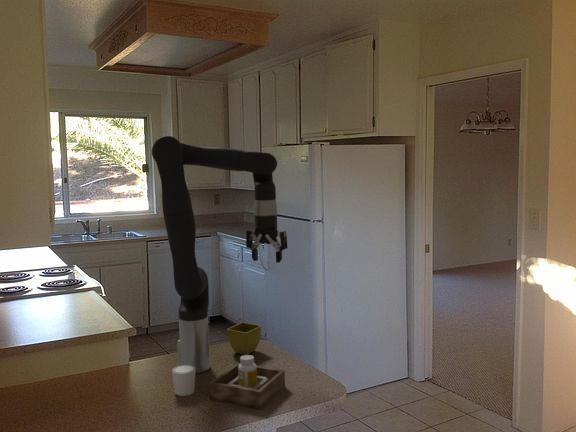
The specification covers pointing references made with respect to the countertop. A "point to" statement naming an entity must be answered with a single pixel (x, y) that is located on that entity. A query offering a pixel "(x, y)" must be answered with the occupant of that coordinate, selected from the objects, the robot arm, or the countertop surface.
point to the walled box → (256, 397)
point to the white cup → (184, 379)
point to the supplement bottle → (247, 371)
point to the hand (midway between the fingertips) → (267, 261)
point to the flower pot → (244, 337)
